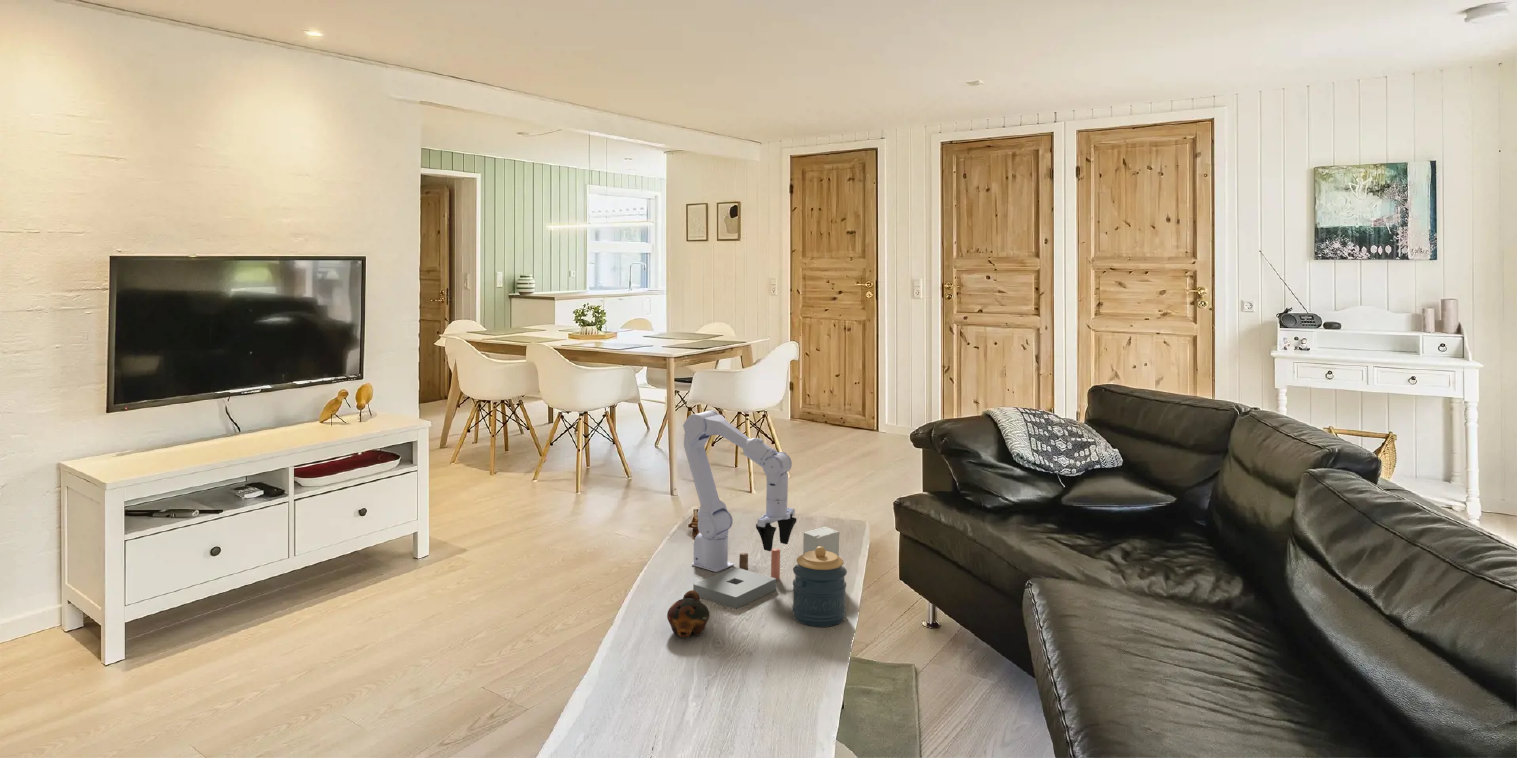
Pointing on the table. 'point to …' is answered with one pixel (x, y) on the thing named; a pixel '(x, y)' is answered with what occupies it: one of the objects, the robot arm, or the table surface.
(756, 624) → the table surface
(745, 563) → the short pin
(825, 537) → the skincare box
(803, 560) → the canister
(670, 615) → the decorative turtle
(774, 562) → the long pin
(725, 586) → the hole plate
